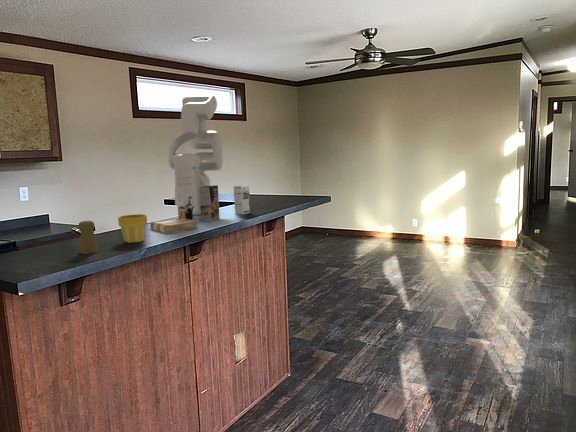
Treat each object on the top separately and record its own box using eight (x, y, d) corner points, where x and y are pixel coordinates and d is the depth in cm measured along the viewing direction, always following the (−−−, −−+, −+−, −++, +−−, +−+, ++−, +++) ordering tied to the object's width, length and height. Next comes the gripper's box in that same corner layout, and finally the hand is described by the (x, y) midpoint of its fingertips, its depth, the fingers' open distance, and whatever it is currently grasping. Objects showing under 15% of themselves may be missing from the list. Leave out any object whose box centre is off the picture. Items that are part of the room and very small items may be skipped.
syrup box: (243, 214, 241) (241, 186, 239) (234, 213, 245) (233, 185, 242) (250, 213, 246) (249, 185, 243) (242, 212, 249) (240, 184, 247)
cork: (101, 251, 167) (98, 220, 165) (84, 254, 162) (81, 223, 161) (93, 249, 171) (90, 219, 169) (76, 252, 166) (73, 221, 165)
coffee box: (213, 221, 224) (211, 186, 222) (200, 221, 226) (198, 187, 223) (220, 218, 233) (218, 185, 231) (207, 217, 234) (205, 185, 232)
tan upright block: (178, 223, 221) (177, 208, 220) (188, 221, 225) (187, 207, 223) (184, 224, 217) (183, 209, 216) (194, 223, 221) (193, 208, 220)
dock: (150, 228, 209) (149, 221, 209) (179, 224, 218) (178, 217, 217) (167, 233, 197) (167, 225, 196) (197, 228, 206) (197, 221, 205)
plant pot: (128, 238, 189) (126, 213, 188) (153, 238, 188) (151, 213, 186) (114, 243, 179) (112, 218, 178) (140, 244, 177) (138, 218, 176)
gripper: (167, 181, 222) (170, 220, 225) (185, 183, 209) (188, 223, 212) (182, 180, 227) (184, 217, 230) (200, 181, 214) (202, 221, 217)
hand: (186, 220), depth 221 cm, fingers closed on tan upright block, 5 cm apart
